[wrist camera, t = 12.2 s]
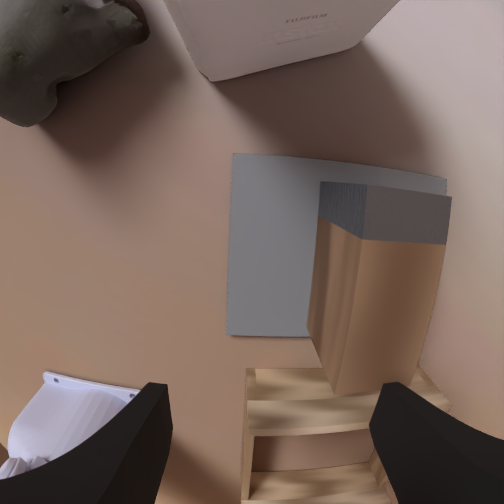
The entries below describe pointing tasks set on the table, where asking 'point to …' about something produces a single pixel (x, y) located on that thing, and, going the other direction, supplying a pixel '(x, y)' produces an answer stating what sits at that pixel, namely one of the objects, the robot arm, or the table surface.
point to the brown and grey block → (374, 281)
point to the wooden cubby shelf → (314, 422)
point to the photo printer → (269, 31)
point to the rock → (58, 48)
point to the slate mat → (286, 235)
